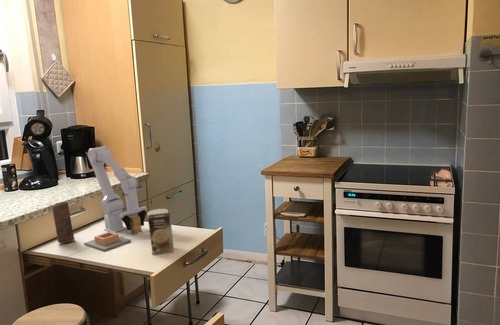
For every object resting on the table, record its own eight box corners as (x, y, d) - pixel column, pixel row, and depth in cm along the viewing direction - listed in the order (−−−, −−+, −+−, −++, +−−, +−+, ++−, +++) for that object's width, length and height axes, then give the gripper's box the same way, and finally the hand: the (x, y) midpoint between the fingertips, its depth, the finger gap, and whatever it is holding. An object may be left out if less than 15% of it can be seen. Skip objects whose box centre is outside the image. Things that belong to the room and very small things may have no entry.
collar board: (84, 245, 196) (83, 236, 195) (110, 235, 206) (109, 228, 206) (104, 251, 184) (103, 243, 183) (131, 241, 194) (130, 233, 194)
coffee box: (151, 255, 174) (147, 218, 172) (153, 250, 180) (148, 214, 178) (173, 252, 175) (169, 216, 173) (174, 247, 181) (170, 212, 179)
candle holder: (173, 231, 204) (170, 208, 202) (167, 238, 194) (164, 213, 193) (154, 232, 205) (151, 209, 203) (147, 239, 195) (144, 215, 194)
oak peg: (130, 233, 208) (128, 217, 207) (137, 230, 211) (135, 215, 210) (135, 234, 205) (133, 218, 204) (141, 231, 208) (139, 216, 207)
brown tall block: (68, 245, 198) (61, 204, 195) (54, 245, 199) (47, 205, 196) (77, 239, 205) (71, 200, 202) (64, 239, 207) (58, 201, 204)
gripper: (123, 206, 197) (127, 233, 200) (148, 198, 208) (152, 224, 210) (115, 204, 202) (119, 231, 204) (140, 197, 213) (144, 222, 215)
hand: (135, 227), depth 208 cm, fingers open, 7 cm apart
